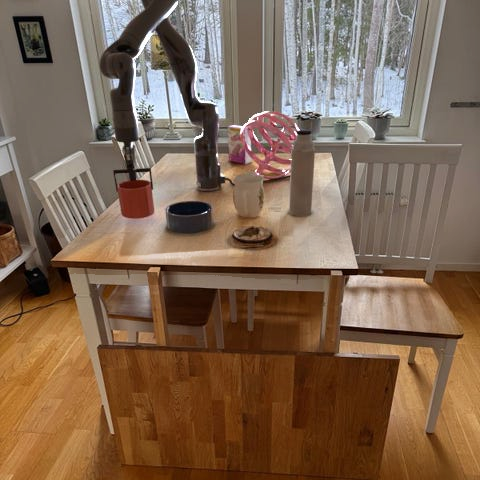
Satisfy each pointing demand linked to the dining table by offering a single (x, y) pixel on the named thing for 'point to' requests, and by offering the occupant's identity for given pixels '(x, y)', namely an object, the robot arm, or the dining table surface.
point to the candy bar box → (238, 145)
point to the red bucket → (135, 196)
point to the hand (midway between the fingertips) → (133, 179)
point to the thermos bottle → (302, 174)
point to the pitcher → (248, 194)
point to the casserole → (189, 217)
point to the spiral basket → (270, 141)
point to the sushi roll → (254, 237)
